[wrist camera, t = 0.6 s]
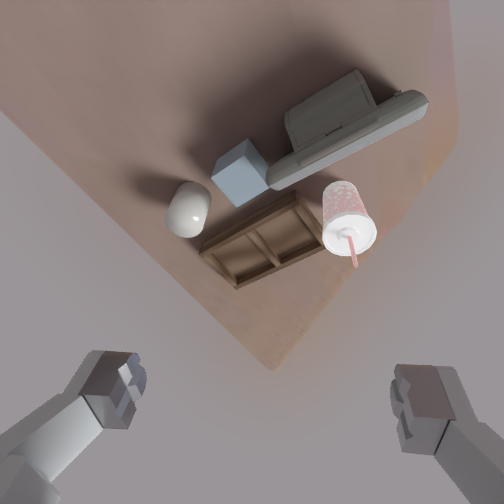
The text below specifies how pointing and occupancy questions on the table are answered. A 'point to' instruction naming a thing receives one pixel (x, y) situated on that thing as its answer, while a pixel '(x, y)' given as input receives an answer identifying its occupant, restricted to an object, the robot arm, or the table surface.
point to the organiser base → (265, 242)
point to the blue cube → (241, 173)
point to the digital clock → (340, 126)
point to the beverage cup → (346, 221)
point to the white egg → (188, 210)
